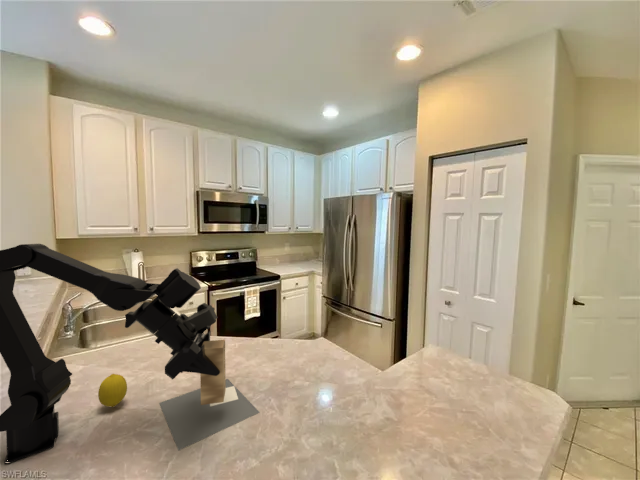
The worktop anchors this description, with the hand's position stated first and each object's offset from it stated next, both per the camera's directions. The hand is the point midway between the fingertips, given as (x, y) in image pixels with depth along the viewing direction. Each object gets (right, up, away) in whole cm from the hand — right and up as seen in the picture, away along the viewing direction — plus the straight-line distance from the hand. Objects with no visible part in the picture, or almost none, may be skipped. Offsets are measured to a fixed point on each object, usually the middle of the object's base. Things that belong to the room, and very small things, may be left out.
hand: (219, 368), depth 62 cm
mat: (-4, -11, +3) cm, 12 cm away
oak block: (-1, -6, 0) cm, 7 cm away
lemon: (-27, -11, +4) cm, 30 cm away
